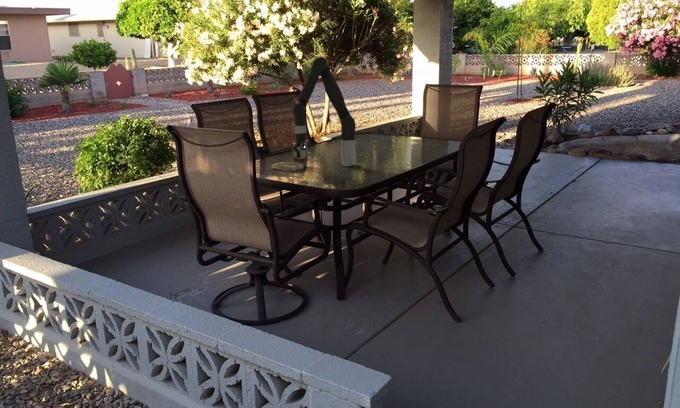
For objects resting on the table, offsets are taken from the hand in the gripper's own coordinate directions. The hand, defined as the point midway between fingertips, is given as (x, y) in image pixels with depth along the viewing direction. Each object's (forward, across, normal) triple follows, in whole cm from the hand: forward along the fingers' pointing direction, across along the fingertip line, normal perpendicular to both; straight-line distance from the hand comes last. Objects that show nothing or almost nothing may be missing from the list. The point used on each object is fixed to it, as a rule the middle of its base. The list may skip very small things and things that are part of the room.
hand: (302, 157), depth 397 cm
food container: (+4, 0, 0) cm, 4 cm away
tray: (+6, +14, 0) cm, 15 cm away
